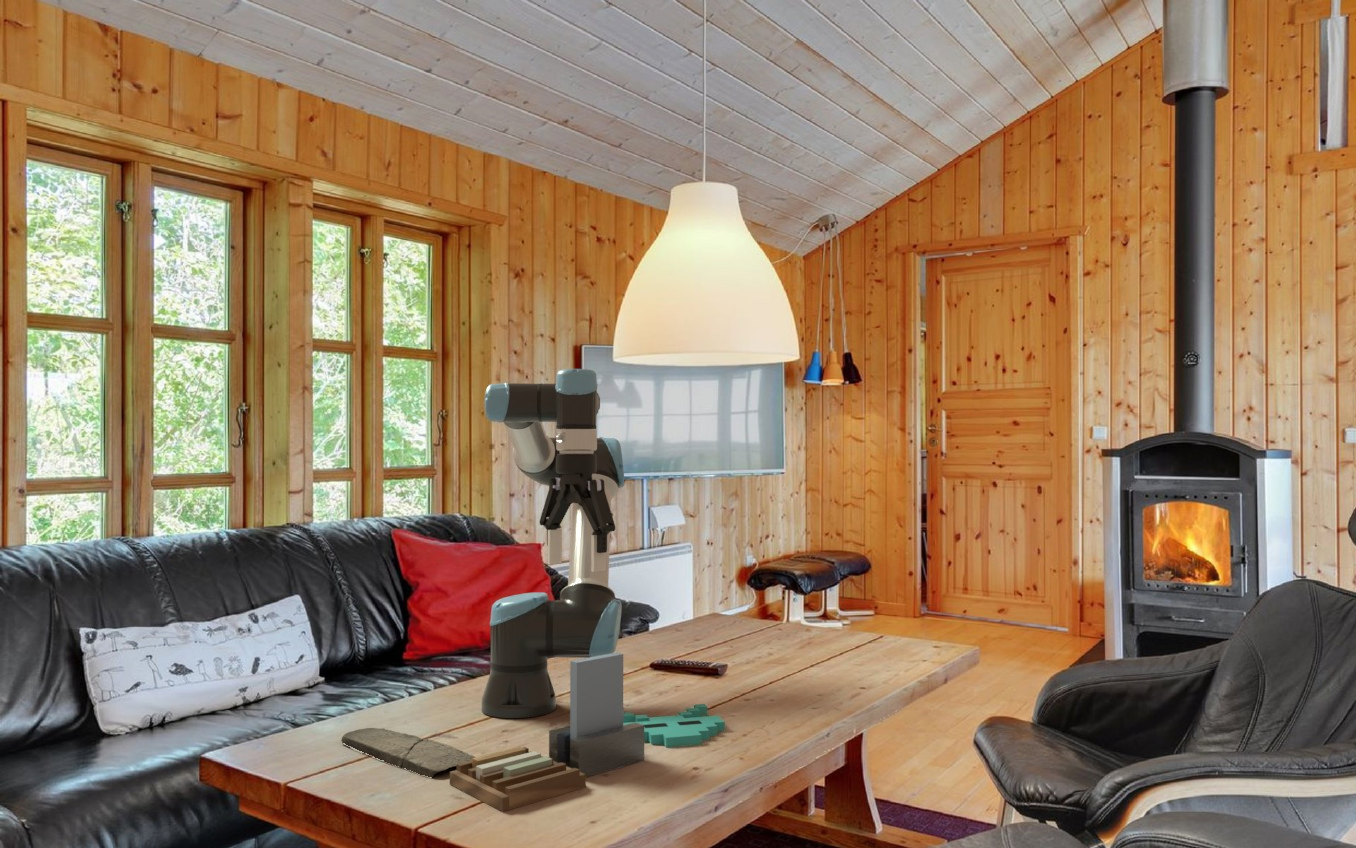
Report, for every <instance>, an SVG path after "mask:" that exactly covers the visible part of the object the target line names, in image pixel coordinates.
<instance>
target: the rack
mask: <svg viewBox="0 0 1356 848" xmlns="http://www.w3.org/2000/svg"><path fill="white" fill-rule="evenodd" d="M522 748H524V749H526V753H529V752H532V751H529V750H530V749H529V748H528V747H526V746H523V747H522ZM539 753H540V752H539ZM540 754H541V753H540ZM542 757H544V756H543V755H542V754H541V758H542ZM547 757H548V758H550V757H549V756H547ZM551 759H552V765H550V766H546V767H543V768H539V769H535V770H532V771H528V772H524V773H520V774H517V775H513V776H509V777H506V778H503V769H502V770H498V771H494V772H490V773H486V774H482V775H480V781H478V780H476V768H472V760H470V761H466V762H462V763H458V764H457V766H455V767H456V769H455V770H452V771H449V785H450V784H451V785H450V786H452V787H454V788H456V787H457V788H456V789H457V790H460V791H461V790H462V791H461V792H463V791H464V793H466V794H468V795H469V796H471V797H473V796H474V797H473V798H475V799H478V800H479V801H481V802H483V803H484V804H487V805H489V806H491V807H493V808H494V809H496V810H498V811H500V812H507V811H509V810H513V809H516V808H519V807H523V806H526V805H530V804H533V803H537V802H540V801H543V800H547V799H550V798H554V797H557V796H561V795H563V794H567V793H570V792H573V791H577V790H580V789H583V788H586V786H587V785H586V784H587V783H586V781H587V780H586V779H587V777H586V774H584V773H581V772H580V770H579V769H577V768H573V769H572V768H569V767H567V766H566V764H565V763H562V762H561V763H557V762H555V761H553V758H551Z"/></svg>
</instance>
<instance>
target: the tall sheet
mask: <svg viewBox="0 0 1356 848" xmlns="http://www.w3.org/2000/svg"><path fill="white" fill-rule="evenodd" d="M569 671H570V673H569V675H570V679H569V680H570V681H569V682H570V684H569V686H570V693H569V694H570V695H569V697H570V699H569V701H570V705H569V706H570V707H569V708H570V709H569V713H570V714H569V719H570V720H569V722H570V723H569V726H570V739H572V738H575V737H579V736H583V735H587V734H591V733H595V732H599V731H603V730H607V729H611V728H615V727H619V726H623V713H624V653H622V652H621V653H620V652H614V653H611V654H606V655H600V656H595V657H590V658H579V659H574V660H570V669H569Z"/></svg>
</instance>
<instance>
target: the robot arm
mask: <svg viewBox="0 0 1356 848" xmlns="http://www.w3.org/2000/svg"><path fill="white" fill-rule="evenodd" d="M555 380H556V381H555V383H519V382H517V383H516V382H515V383H514V382H513V383H512V382H503V383H490V384H489V385H488V386H487V387H486V388H485V389H486V390H485V393H484V411H485V412H484V413H485V416H486V419H487V420H488V421H489V422H495V423H503V425H504V427H505V430H506V432H507V434H508V437H509V439H510V442H511V444H512V447H513V448H512V458H513V460H514V463H515V465H516V467H517V468H518V469H519V471H521V472H522V473H523V474H524V475H525V476H526V477H528V478H530V479H531V480H533V481H535V482H537V483H539V484H541V485H544V486H547V487H549V488H548V491H547V494H546V499H545V501H544V505H543V509H542V512H541V516H540V519H539V525H540V526H544V529H545V530H546V545H547V565H550V566H552V565H561V564H562V563H563V559H562V558H563V557H562V556H563V554H562V552H563V551H562V550H563V549H562V548H563V547H562V546H563V545H562V543H563V542H562V540H563V537H562V536H563V533H562V532H563V531H562V530H563V529H562V527H563V526H561V523H562V522H563V520H564V519H565V517H566V514H567V513H568V510H569V508H570V507H571V505H572V516H571V531H570V547H569V548H570V549H569V562H568V563H569V564H568V578H567V579H568V582H567V585H566V586H565V587H564V588H563V589H562V590H561V591H560V594H559V599H556V600H555V599H552V600H549V596H548V593H546V592H543V591H542V592H537V591H536V592H526V593H525V592H524V593H520V594H514V595H510V596H506V597H502V598H500V599H498V600H496V601H495V602H494V603H493V604H492V605H491V612H490V621H489V626H490V668H489V669H490V672H489V676H488V678H487V682H486V685H485V688H484V692H483V695H482V698H481V711H482V713H483V714H485V715H487V716H490V717H494V718H500V719H501V718H503V719H524V718H525V719H526V718H533V717H534V718H535V717H539V716H543V715H547V714H549V713H551V712H553V711H554V710H556V707H557V695H556V692H555V688H554V687H553V683H552V680H551V677H550V674H549V671H548V670H549V669H548V659H549V658H562V659H563V658H567V659H568V658H572V659H573V658H579V659H584V658H590V657H595V656H600V655H606V654H611V653H615V651H616V649H617V646H618V641H619V638H620V636H619V635H620V631H621V620H622V619H621V618H622V609H623V608H622V607H623V606H622V602H621V600H619V599H616V594H615V591H614V590H613V589H612V588H610V587H609V578H610V577H609V574H610V541H611V540H610V539H611V532H615V531H616V524H615V521H614V518H613V515H612V514H613V513H612V510H611V509H612V500H613V499H614V498H615V497H616V496H617V494H618V492H619V489H621V488H624V486H625V471H624V465H623V464H624V462H623V460H624V459H623V454H622V448H621V447H622V445H621V443H620V442H619V440H618V439H617V438H612V437H603V436H599V437H598V435H597V434H598V429H597V415H598V414H599V410H600V409H601V397H600V394H599V393H598V382H597V373H596V372H595V370H593V369H587V368H565V369H564V368H563V369H560V370H558V371H557V373H556V379H555ZM543 422H544V423H547V422H548V423H549V422H552V423H554V422H556V426H555V429H556V436H555V437H549V436H548V435H547V433H546V430H545V427H544V424H543Z"/></svg>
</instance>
